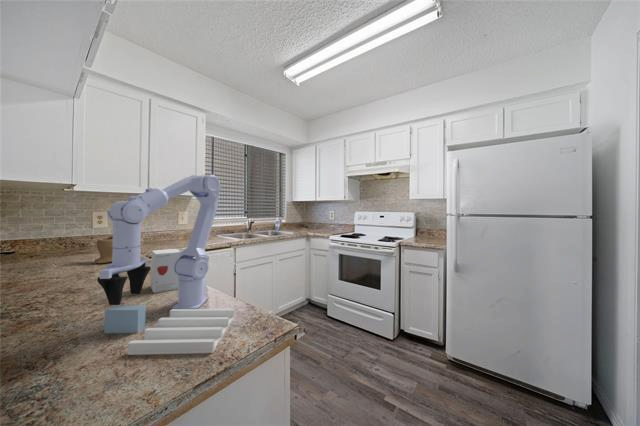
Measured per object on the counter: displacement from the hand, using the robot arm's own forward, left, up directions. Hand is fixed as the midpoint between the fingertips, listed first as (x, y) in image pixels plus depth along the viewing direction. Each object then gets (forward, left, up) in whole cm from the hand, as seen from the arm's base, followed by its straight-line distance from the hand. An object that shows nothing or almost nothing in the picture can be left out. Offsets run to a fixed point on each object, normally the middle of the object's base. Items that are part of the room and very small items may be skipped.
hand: (125, 298), depth 63 cm
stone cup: (-80, -61, -8) cm, 101 cm away
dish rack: (+2, +17, -8) cm, 19 cm away
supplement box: (-34, -8, -8) cm, 36 cm away
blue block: (0, 0, -8) cm, 8 cm away
